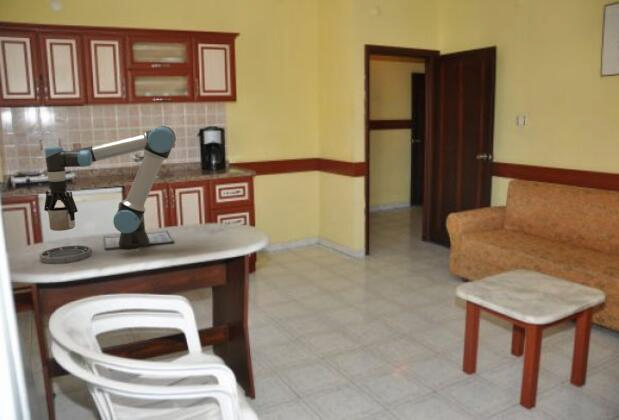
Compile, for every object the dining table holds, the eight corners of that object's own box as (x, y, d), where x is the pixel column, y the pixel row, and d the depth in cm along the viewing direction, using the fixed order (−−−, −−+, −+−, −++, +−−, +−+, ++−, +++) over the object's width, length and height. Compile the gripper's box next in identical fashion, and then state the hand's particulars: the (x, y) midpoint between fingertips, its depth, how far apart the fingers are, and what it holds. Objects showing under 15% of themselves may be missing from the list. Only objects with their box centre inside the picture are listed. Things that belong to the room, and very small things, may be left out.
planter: (65, 231, 240) (63, 211, 238) (44, 230, 242) (42, 210, 240) (80, 226, 250) (78, 206, 248) (60, 225, 252) (58, 206, 250)
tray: (101, 252, 255) (100, 247, 254) (65, 265, 235) (65, 260, 234) (66, 248, 263) (66, 243, 262) (29, 261, 243) (29, 255, 242)
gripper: (82, 180, 241) (87, 226, 245) (45, 178, 249) (50, 223, 253) (70, 182, 234) (75, 229, 238) (31, 180, 242) (37, 226, 246)
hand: (62, 226), depth 246 cm, fingers closed on planter, 11 cm apart
